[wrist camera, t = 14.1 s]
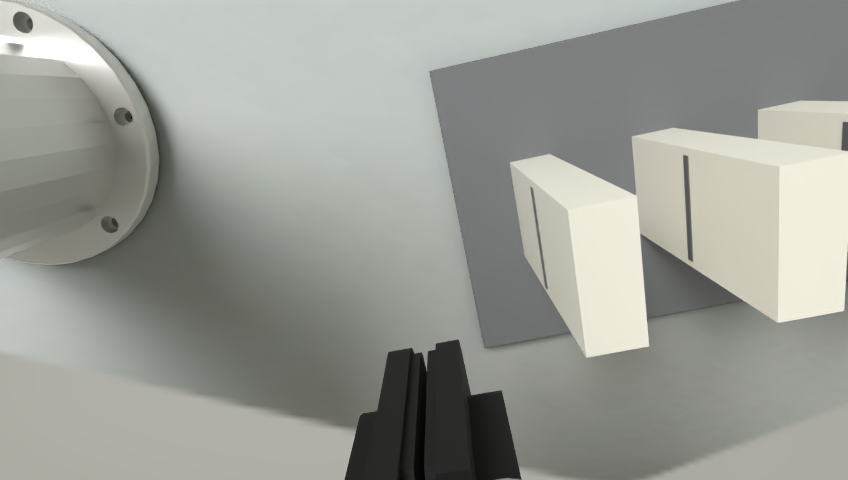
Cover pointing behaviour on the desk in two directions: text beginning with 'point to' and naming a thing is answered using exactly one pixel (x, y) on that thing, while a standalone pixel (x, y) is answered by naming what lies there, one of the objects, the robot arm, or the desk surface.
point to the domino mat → (619, 130)
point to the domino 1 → (584, 251)
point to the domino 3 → (806, 124)
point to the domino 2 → (749, 216)
